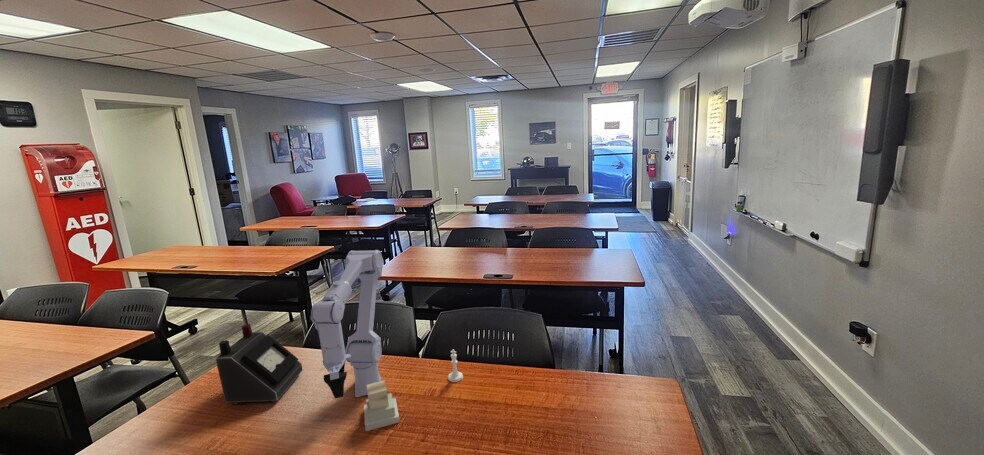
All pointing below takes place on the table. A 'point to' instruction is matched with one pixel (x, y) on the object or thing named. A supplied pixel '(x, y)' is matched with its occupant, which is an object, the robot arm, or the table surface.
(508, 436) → the table surface
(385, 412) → the tower top
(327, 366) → the robot arm
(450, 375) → the chess piece
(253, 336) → the voltmeter
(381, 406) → the maple cube
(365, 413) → the tower base
